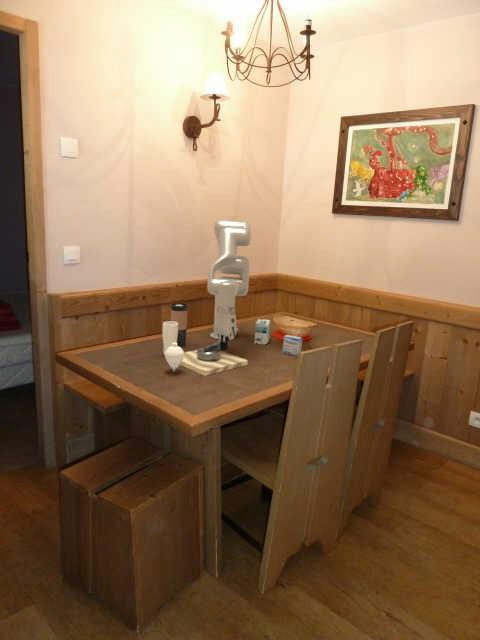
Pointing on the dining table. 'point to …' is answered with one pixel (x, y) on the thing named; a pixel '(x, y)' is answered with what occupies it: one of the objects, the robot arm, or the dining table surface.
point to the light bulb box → (262, 331)
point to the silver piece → (209, 352)
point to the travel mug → (180, 321)
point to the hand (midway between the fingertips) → (223, 349)
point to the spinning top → (174, 356)
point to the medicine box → (292, 344)
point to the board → (212, 363)
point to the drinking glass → (169, 334)
